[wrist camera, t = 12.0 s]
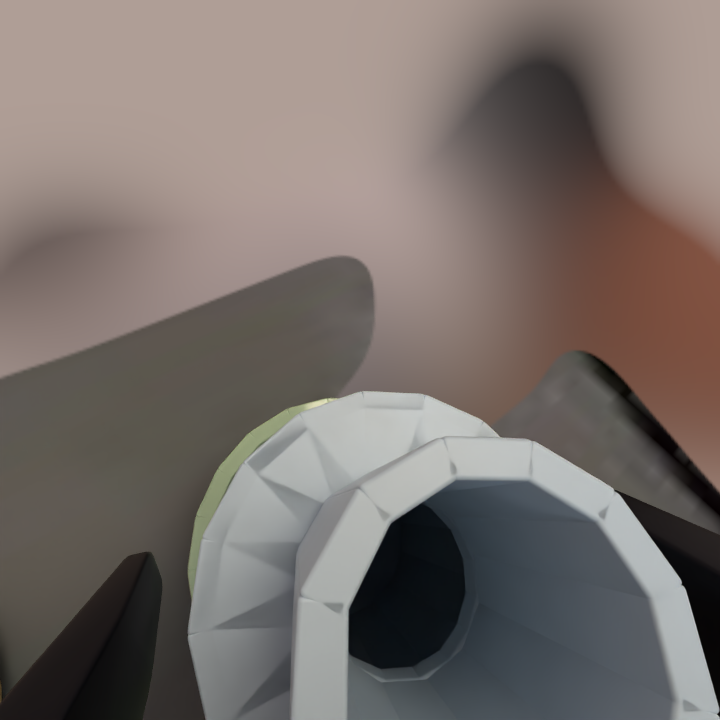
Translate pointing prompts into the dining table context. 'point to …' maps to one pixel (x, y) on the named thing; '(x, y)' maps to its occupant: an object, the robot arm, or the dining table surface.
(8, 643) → the dining table surface
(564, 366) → the dining table surface
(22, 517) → the dining table surface
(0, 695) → the pastry
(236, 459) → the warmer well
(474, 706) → the bottle
